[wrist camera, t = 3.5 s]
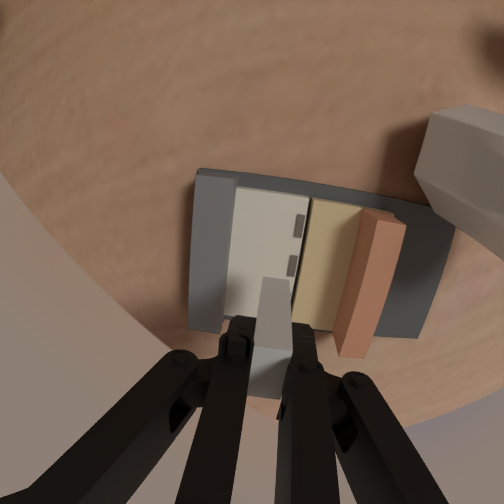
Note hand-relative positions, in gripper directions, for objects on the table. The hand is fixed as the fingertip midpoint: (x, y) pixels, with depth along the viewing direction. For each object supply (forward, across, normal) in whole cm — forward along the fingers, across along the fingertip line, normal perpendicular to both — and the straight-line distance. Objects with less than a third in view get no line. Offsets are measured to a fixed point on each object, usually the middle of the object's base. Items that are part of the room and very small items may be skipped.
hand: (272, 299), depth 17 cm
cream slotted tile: (+7, -2, 0) cm, 7 cm away
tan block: (+6, +5, 0) cm, 8 cm away
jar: (+5, +12, +10) cm, 17 cm away
